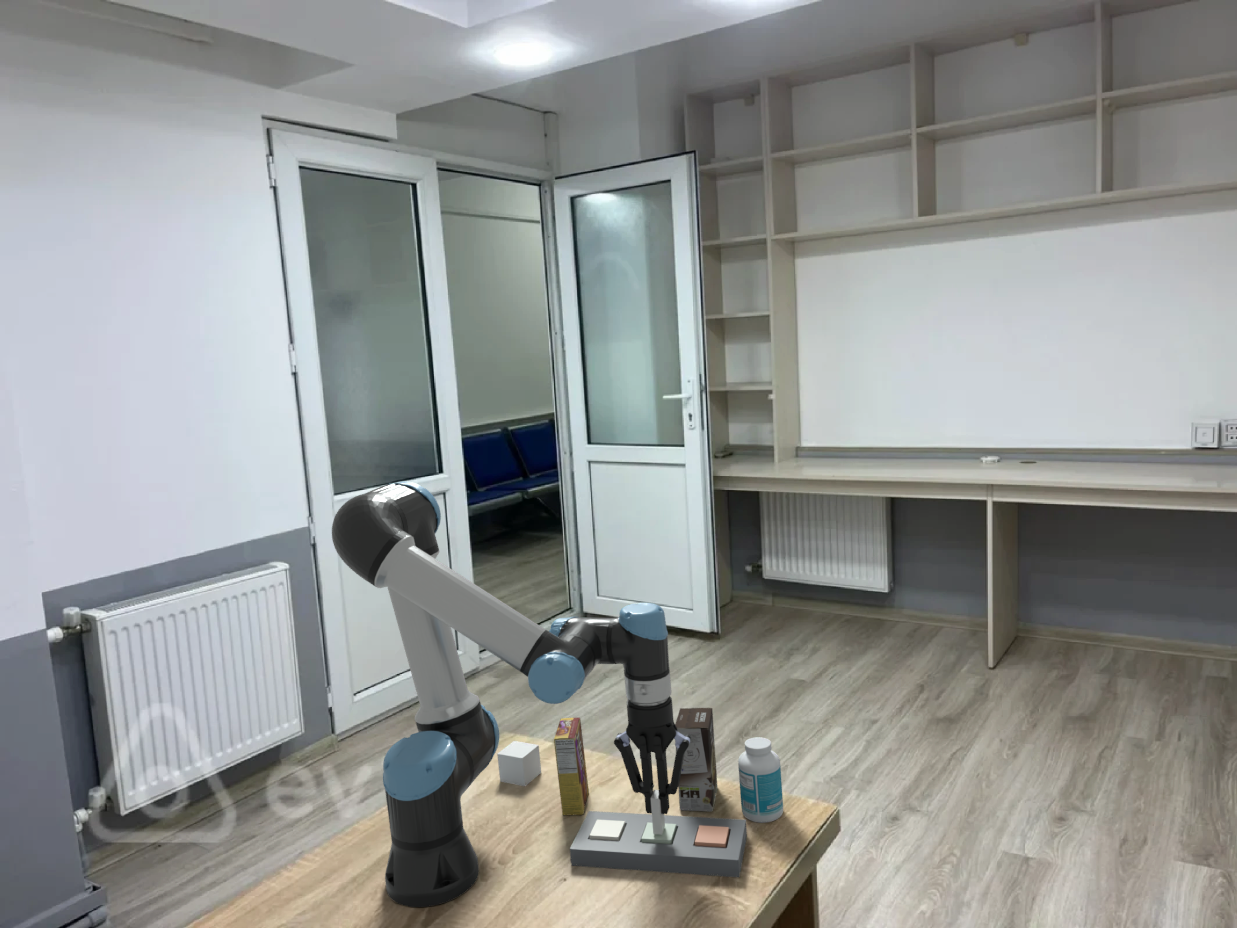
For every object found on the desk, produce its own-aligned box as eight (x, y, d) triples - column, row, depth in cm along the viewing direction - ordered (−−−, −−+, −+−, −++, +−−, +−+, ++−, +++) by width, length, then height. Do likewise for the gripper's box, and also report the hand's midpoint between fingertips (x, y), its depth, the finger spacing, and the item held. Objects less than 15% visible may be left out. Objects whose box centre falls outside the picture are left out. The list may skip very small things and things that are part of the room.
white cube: (525, 786, 181) (522, 758, 180) (500, 781, 184) (497, 753, 183) (541, 772, 186) (538, 744, 185) (516, 767, 189) (514, 740, 188)
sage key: (642, 856, 154) (641, 838, 153) (648, 839, 158) (647, 822, 158) (672, 858, 152) (670, 840, 152) (677, 841, 157) (676, 823, 157)
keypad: (571, 865, 153) (569, 848, 153) (590, 826, 165) (588, 810, 164) (739, 877, 146) (738, 859, 146) (746, 835, 158) (745, 819, 157)
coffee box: (714, 812, 166) (708, 728, 164) (678, 810, 168) (672, 727, 165) (718, 786, 175) (713, 706, 173) (685, 785, 176) (679, 706, 174)
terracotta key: (696, 860, 151) (694, 841, 151) (700, 843, 156) (699, 825, 156) (726, 862, 150) (725, 843, 150) (729, 845, 155) (728, 826, 155)
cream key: (591, 853, 156) (589, 835, 155) (598, 836, 161) (597, 819, 160) (619, 855, 155) (618, 836, 154) (626, 838, 159) (624, 820, 159)
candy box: (566, 791, 178) (560, 717, 175) (589, 791, 177) (582, 716, 175) (560, 816, 169) (553, 738, 167) (583, 815, 168) (576, 737, 166)
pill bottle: (785, 804, 167) (781, 734, 165) (781, 826, 160) (777, 753, 158) (744, 801, 169) (740, 732, 167) (738, 822, 162) (734, 751, 160)
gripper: (605, 705, 149) (616, 840, 153) (684, 707, 146) (694, 844, 150) (616, 687, 157) (626, 816, 160) (691, 689, 153) (700, 820, 157)
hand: (659, 829), depth 155 cm, fingers closed
